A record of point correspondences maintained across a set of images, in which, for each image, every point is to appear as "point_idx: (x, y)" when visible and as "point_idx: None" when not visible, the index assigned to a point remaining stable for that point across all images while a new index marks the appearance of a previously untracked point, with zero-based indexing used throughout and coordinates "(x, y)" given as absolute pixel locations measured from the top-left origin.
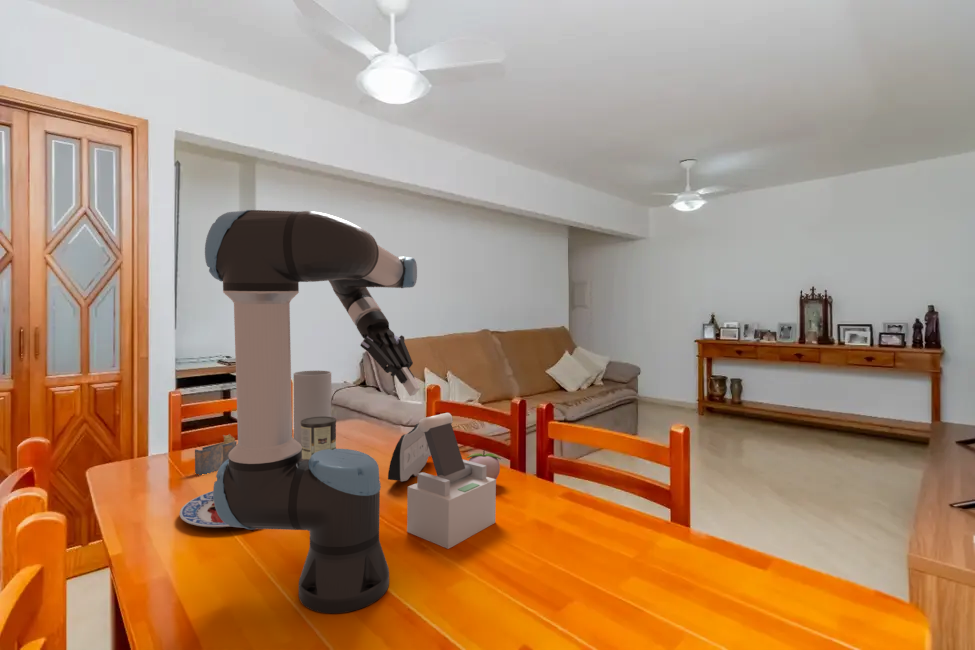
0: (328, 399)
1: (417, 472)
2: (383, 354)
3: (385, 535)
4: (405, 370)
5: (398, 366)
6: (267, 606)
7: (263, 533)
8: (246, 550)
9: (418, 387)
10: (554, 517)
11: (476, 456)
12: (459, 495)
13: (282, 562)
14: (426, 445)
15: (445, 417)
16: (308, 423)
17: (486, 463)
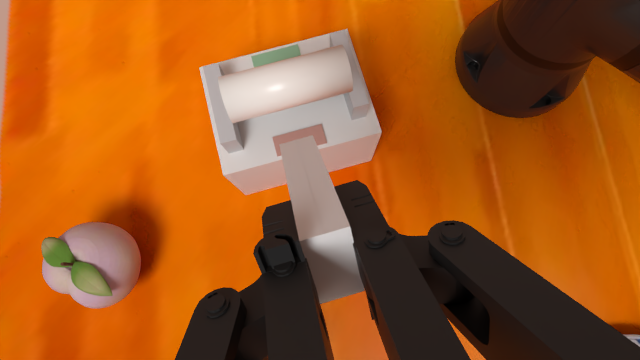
0: None
1: None
2: (567, 338)
3: (408, 170)
4: (329, 210)
5: (383, 233)
6: (611, 78)
7: (603, 305)
8: (634, 251)
9: (288, 145)
10: (130, 69)
11: (93, 270)
12: (316, 37)
13: (581, 176)
14: None
15: (251, 68)
16: None
17: (99, 231)
